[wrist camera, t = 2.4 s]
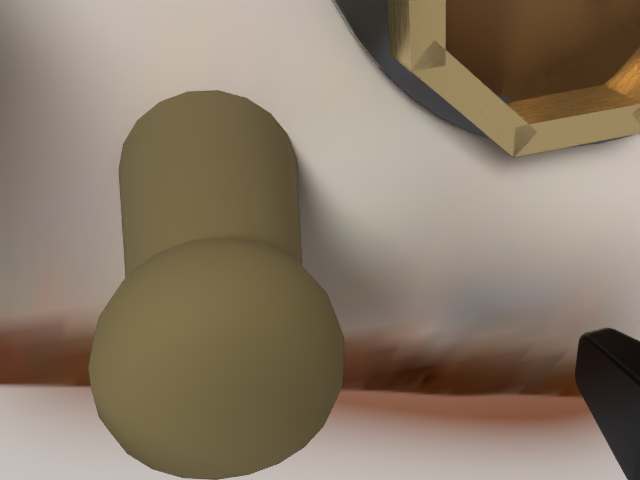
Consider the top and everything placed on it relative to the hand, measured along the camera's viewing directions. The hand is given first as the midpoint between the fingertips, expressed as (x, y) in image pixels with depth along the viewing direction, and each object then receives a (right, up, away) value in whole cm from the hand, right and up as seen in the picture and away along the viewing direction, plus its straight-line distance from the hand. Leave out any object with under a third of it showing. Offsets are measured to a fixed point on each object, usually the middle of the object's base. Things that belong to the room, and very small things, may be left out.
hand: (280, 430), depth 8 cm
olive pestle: (-3, +5, +12) cm, 13 cm away
